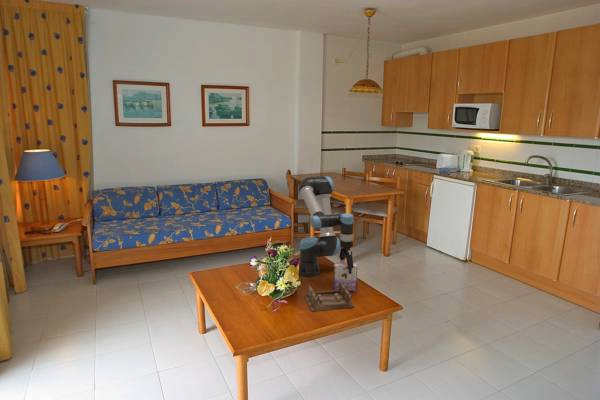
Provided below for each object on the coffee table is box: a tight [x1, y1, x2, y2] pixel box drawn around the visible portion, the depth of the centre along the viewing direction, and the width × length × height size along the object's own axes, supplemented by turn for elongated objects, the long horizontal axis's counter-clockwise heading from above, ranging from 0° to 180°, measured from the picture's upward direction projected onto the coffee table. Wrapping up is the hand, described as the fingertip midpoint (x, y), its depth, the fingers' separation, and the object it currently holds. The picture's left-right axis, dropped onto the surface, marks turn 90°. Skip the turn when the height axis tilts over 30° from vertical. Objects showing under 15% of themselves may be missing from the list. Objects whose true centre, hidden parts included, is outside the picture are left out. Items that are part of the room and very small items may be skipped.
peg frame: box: [304, 283, 355, 312], centre depth 224 cm, size 18×24×7 cm
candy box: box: [333, 261, 358, 293], centre depth 239 cm, size 14×6×16 cm, turn 84°
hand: (345, 274), depth 239 cm, fingers open, 13 cm apart
